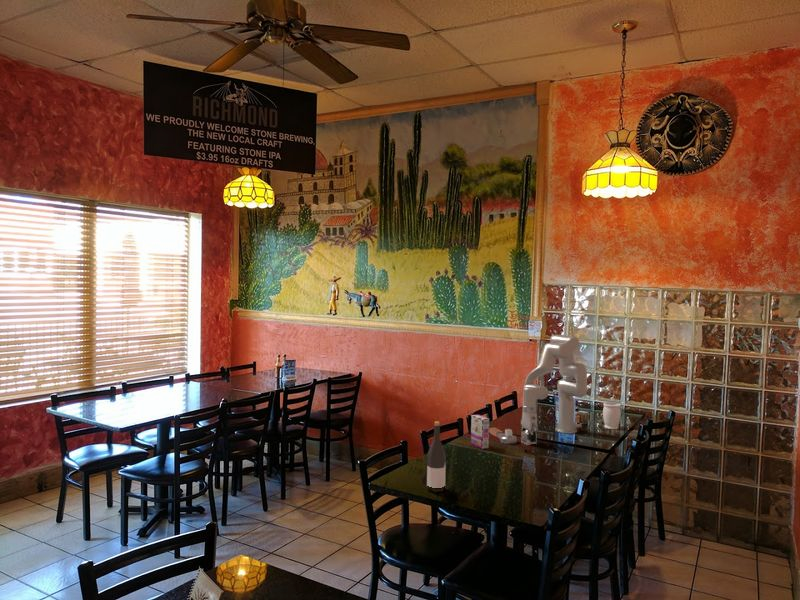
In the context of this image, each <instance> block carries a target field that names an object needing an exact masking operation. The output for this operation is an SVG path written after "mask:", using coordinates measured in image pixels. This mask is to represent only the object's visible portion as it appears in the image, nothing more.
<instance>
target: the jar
mask: <svg viewBox="0 0 800 600" xmlns="http://www.w3.org/2000/svg"><path fill="white" fill-rule="evenodd" d="M621 406H622V405H621V404H620V403H619V402H612V401H606V402H603V409H602V416H603V417H602V418H603V422H604V428H605V429H607V430H608V429H609V430H619V425H620V421H621V416H622V414H621V413H622V412H621Z"/></svg>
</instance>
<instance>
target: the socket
mask: <svg viewBox="0 0 800 600" xmlns="http://www.w3.org/2000/svg"><path fill="white" fill-rule="evenodd" d="M532 432H533V431H532ZM520 433H521V434H520V443H521V444H523V443H524V445H525V444H526V445H525V446H532V445H531V444H536V445H537V437H538V436H537V435H538V434H537V435H536V442H530V435H531V432H530V431H529V430H527V429H526V430H525V431H522V430H521V432H520Z"/></svg>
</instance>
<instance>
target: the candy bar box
mask: <svg viewBox="0 0 800 600" xmlns="http://www.w3.org/2000/svg"><path fill="white" fill-rule="evenodd" d="M470 416H471V417H470V422H471V423H470V445H471V446H474V447H476V446H477V447H476V448H478V447H479V449H480V448H481V450H486V449H490V433H489V428H490V419H491V418H489V417H486V416H483V415H480V414H471V415H470Z"/></svg>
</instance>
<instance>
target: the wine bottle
mask: <svg viewBox="0 0 800 600" xmlns="http://www.w3.org/2000/svg"><path fill="white" fill-rule="evenodd" d="M440 427H441V425H440V421H434V425H433V441H432V442H431V444H430V446H429V448H428V451H427V456H426V458H427V459H426V466H427V467H426V487H427V486H429V487H432V488H442V487H444V486H445V487H446V464H447V463H446V460H447V459H446V458H447V455H446V451H445V447H444V445H443V443H442V441H441V439H440V436H441V435H440V434H441V433H440V431H441V429H440Z"/></svg>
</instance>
